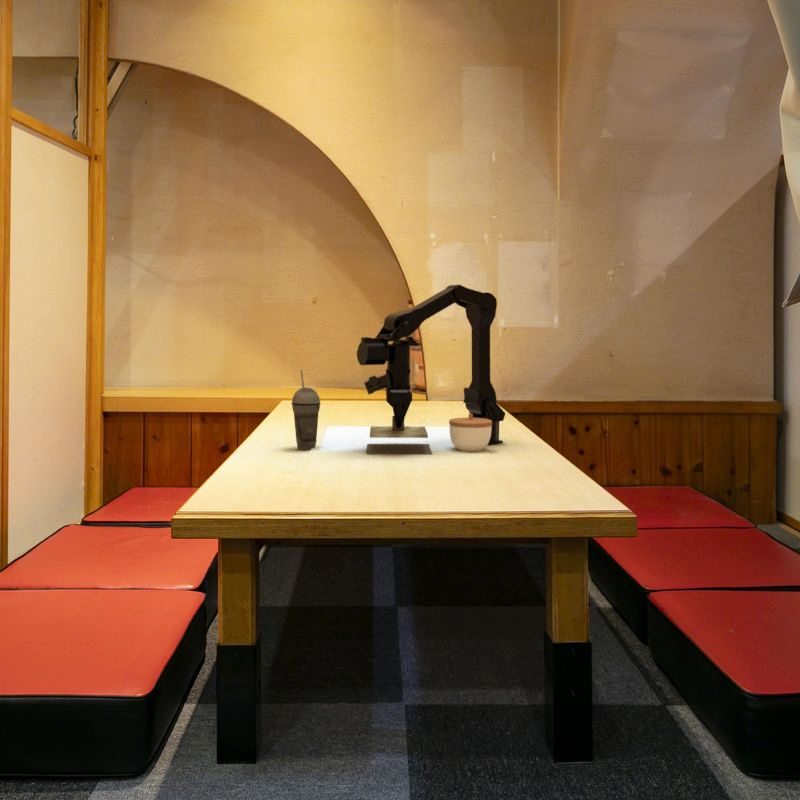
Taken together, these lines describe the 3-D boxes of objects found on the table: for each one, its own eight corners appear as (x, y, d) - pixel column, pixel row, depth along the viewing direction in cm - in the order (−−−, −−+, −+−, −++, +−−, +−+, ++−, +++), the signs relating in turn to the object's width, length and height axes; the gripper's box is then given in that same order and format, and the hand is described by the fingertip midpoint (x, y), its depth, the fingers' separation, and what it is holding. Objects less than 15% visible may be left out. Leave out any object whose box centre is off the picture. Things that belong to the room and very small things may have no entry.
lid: (424, 429, 198) (424, 413, 197) (427, 437, 184) (427, 420, 184) (370, 429, 198) (370, 412, 197) (369, 437, 184) (369, 419, 183)
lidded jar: (463, 455, 185) (464, 417, 184) (440, 449, 194) (441, 412, 193) (500, 452, 190) (500, 415, 189) (476, 446, 199) (476, 410, 198)
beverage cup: (315, 451, 189) (315, 371, 187) (287, 450, 190) (287, 370, 188) (324, 447, 196) (324, 369, 194) (297, 446, 197) (296, 368, 195)
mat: (428, 445, 199) (428, 443, 199) (432, 456, 184) (432, 454, 184) (367, 445, 199) (367, 443, 199) (365, 456, 183) (365, 454, 183)
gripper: (366, 362, 198) (366, 422, 200) (365, 366, 180) (365, 432, 181) (409, 362, 198) (409, 422, 200) (412, 366, 180) (412, 432, 181)
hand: (398, 426), depth 191 cm, fingers closed on lid, 3 cm apart
